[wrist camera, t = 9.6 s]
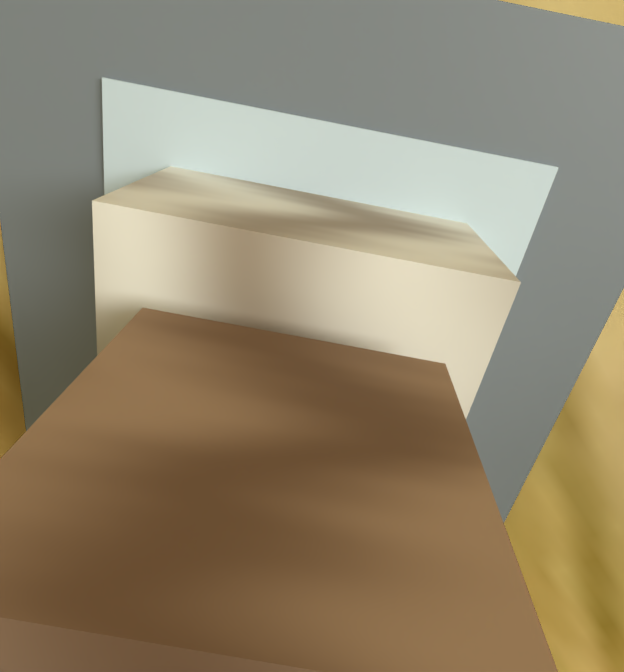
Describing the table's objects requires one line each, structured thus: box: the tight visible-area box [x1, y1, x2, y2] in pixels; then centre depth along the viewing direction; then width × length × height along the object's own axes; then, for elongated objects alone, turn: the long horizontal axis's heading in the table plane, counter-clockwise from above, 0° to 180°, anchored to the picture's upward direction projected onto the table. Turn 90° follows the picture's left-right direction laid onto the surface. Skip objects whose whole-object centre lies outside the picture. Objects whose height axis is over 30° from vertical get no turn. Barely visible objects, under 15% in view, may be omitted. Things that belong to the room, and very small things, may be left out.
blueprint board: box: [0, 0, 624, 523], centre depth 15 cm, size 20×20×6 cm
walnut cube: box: [0, 308, 558, 672], centre depth 8 cm, size 6×6×6 cm
